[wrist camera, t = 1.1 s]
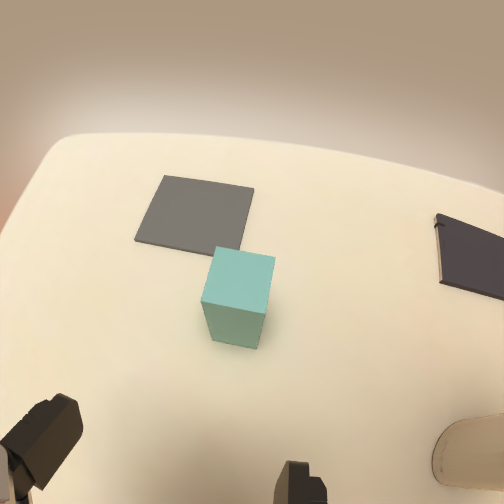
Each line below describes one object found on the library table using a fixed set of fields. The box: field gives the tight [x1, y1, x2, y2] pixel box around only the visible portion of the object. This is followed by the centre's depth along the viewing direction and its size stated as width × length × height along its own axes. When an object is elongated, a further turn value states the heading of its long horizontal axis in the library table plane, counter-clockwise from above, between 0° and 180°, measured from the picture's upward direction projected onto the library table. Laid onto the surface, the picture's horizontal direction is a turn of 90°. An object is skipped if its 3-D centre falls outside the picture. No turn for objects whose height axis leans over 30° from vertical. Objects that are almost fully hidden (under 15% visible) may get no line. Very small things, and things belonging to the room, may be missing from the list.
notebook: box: [434, 213, 504, 301], centre depth 41 cm, size 13×2×21 cm
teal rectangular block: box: [201, 246, 276, 349], centre depth 30 cm, size 5×5×12 cm
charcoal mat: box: [134, 175, 254, 256], centre depth 42 cm, size 14×12×1 cm
